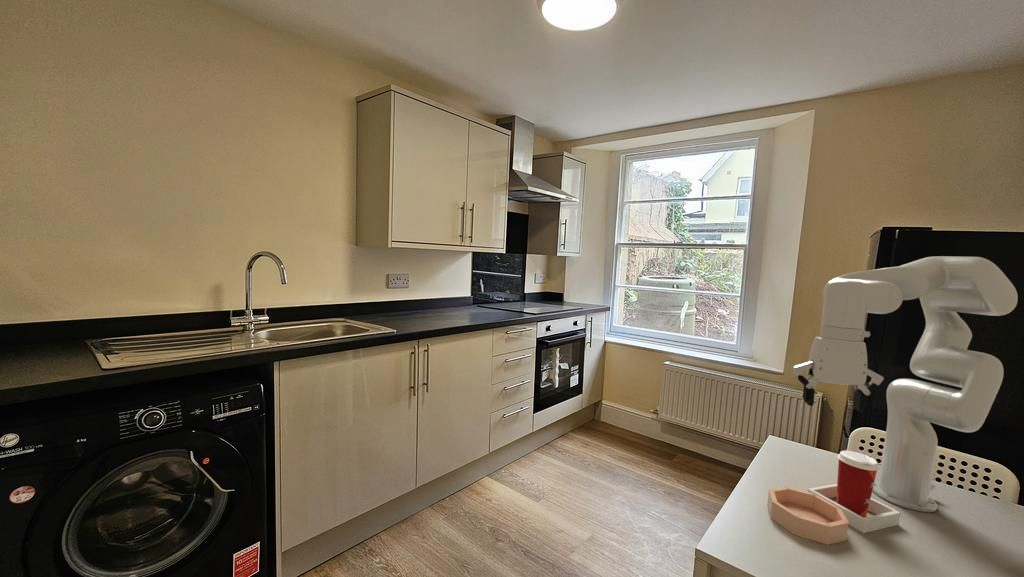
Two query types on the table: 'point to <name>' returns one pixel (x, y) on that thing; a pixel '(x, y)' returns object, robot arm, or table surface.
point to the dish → (807, 515)
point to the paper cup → (855, 481)
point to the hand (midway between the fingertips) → (832, 406)
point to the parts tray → (879, 521)
